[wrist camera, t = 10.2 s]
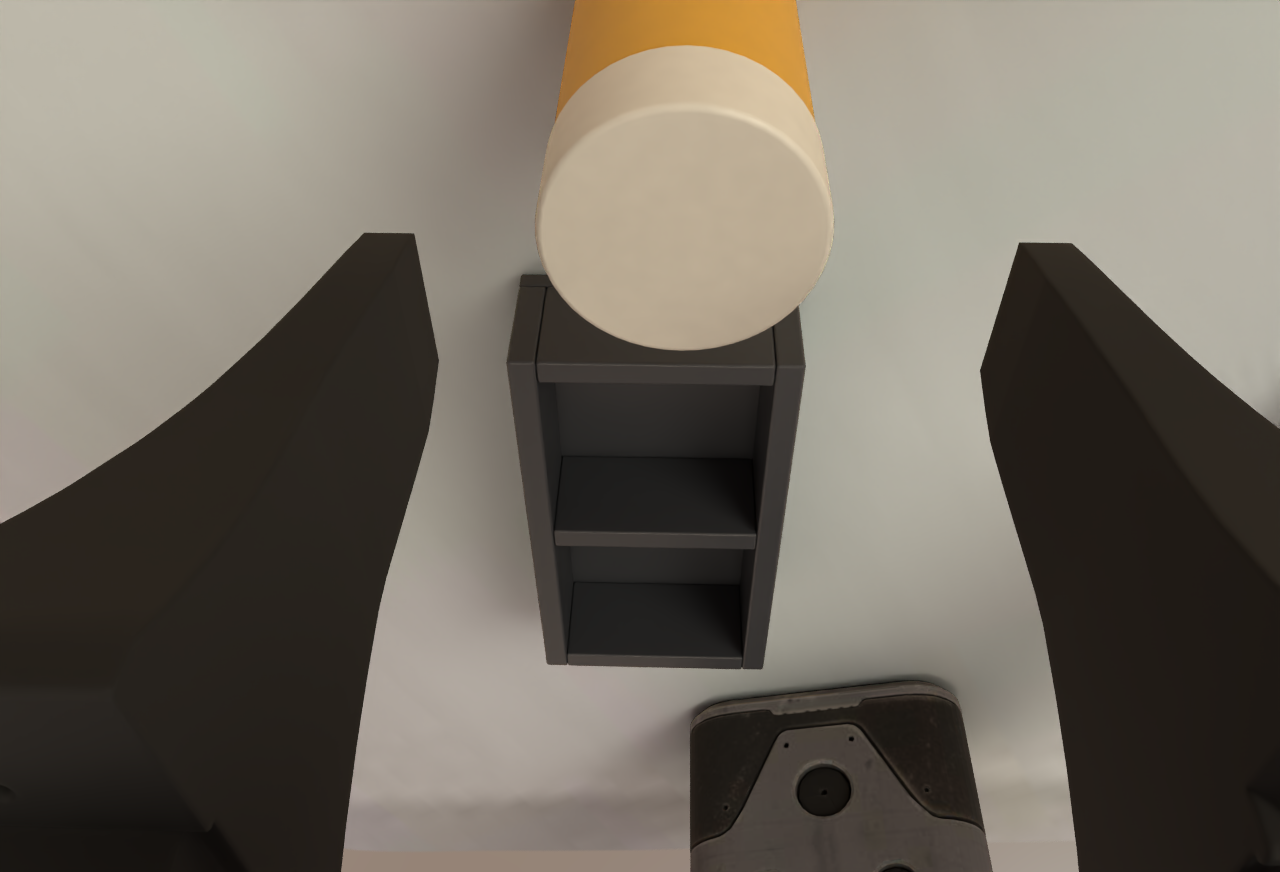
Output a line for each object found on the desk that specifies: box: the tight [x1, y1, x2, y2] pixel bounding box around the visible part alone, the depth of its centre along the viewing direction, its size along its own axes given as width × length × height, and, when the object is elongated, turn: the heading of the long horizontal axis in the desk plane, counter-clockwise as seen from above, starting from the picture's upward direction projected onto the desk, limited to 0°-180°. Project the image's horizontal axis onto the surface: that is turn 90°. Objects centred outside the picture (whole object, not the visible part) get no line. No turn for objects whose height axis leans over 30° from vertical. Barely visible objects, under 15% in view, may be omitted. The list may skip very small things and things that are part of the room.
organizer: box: [506, 275, 806, 669], centre depth 27 cm, size 6×12×3 cm, turn 1°
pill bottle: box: [535, 0, 834, 351], centre depth 16 cm, size 4×4×8 cm
